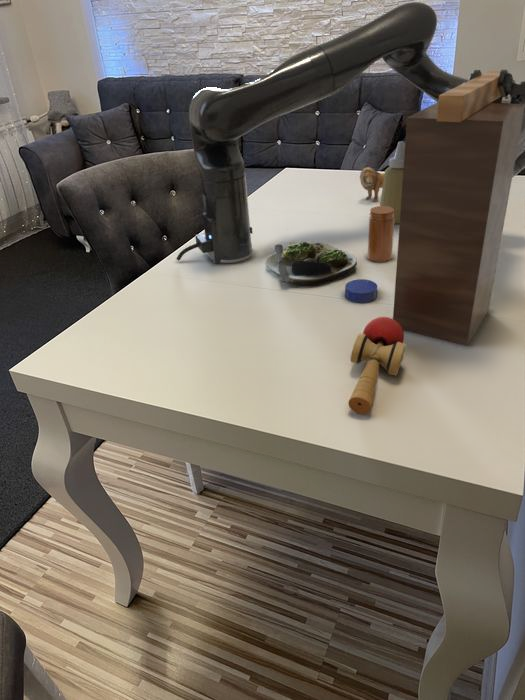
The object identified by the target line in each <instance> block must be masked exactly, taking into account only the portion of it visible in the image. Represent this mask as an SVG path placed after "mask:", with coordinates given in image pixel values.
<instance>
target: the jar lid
mask: <svg viewBox="0 0 525 700" xmlns="http://www.w3.org/2000/svg"><path fill="white" fill-rule="evenodd" d="M344 297H345V298H346V299H347V300H348V301H350V302H353V303H359V304H364V303H370V302H373V301H374V300H376V299H377V297H378V284H377V283H376V282H375V281H373V280H370V279H366V278H365V279H361V278H357V279H353V280H349V281H348V282H346V284H345V286H344Z"/></svg>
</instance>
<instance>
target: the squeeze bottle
mask: <svg viewBox="0 0 525 700" xmlns="http://www.w3.org/2000/svg"><path fill="white" fill-rule="evenodd" d="M404 154H405V142H404V141H403V140H401V141H398V142H397V146H396V150H395V154H394V156H393V157H390V158H389V164H388V165H389V166H388V167H387V168H386V169H384V173H385V175H384V181H383V188H381V194H380V195H381V196H380V203H379V206H388V207H392V208H393V209H394V211H395V212H394V224H400V211H401V197H402V183H403V168H404Z"/></svg>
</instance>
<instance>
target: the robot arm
mask: <svg viewBox="0 0 525 700" xmlns="http://www.w3.org/2000/svg"><path fill="white" fill-rule="evenodd" d="M437 26H438V16H437V13H436V11H435V10H434V8H433V7H431V6H430V5H429V4H427V3H424V2H420V1H412V2H407V3H403V4H401V5H399V6H396V7H395V8H393V9H391V10H389V11H387V12H386V13H384V14H381V15H380V16H379V17H376V18H375V19H373V20H372V21H370V22H368V23H366V24H364V25H362V26H360V27H358V28H355V29H353V30H350V31H349V32H346V33H344V34H341V35H340V36H338V37H334V38H333V39H330V40H328V41H326V42H323V43H320V44H317V45H314V46H312V47H310V48H308V49H306V50H303V51H301V52H298V53H296V54H294V55H292V56H290V57H289V58H287V59H286V60H284V61H283V62H281V63H280V64H279V65H278V66H276V67H275V68H274V69H273V70H271V71H270V72H269V73H267V74H266V75H265V76H262V77H261V78H259V79H257V80H255V81H251V82H249V83H245V84H243V85H240V86H238V87H233V88H229V89H221V88H217V87H206V88H203V89H201V90H199V91H198V92H196V93H195V95H194V96H193V98H192V99H191V101H190V104H189V108H188V119H189V129H190V135H191V141H192V142H191V143H192V148H193V154H194V160H195V162H196V163H195V164H196V165H197V170H198V173H199V180H200V186H201V195H202V202H203V203H202V204H203V211H204V212H202V215H201V216H202V222H203V230H204V232H203V233H199V234H195V235H194V236H195V237H194V238H195V243H194V244H192V245H189V246H187V247H186V248H184V249H182V250H181V251H180V252H179V253H178V255H177V256H176V258H175V259H176V261H180V260H181V259H182V257H183V256H184V255H185V254H186V253H188V252H189V251H192V250H194V249H197V248H198V249H199V250H200V252H202V254H207V256H208V257H209V258H210V260H211V261H212V262H213V263H214V264H215V265H219V264H236V263H241V262H244V261H246V260H249V259H250V258H251V257H253V254H254V250H253V245H252V235H253V227H251V221H250V212H249V211H250V210H249V201H248V187H247V178H246V177H247V176H246V165H245V161H244V158H243V156H242V154H241V152H240V151H241V150H240V149H239V143H238V142H239V141H238V139H239V138H240V137H241V138H242V136H244V135H246V134H248V133H249V132H251V131H253V130H254V129H256V128H258V127H260V126H261V125H263V124H265V123H267V122H269V121H271V120H274V119H275V118H277V117H281V116H284V115H287V114H289V113H292V112H295V111H297V110H300V109H302V108H305V107H307V106H309V105H313V104H315V103H317V102H319V101H322V100H324V99H326V98H329V97H332V96H333V95H335V94H337V93H340V91H342V90H344V89H345V88H346V87H347V86H348V85H350V84H351V83H352V82H353V81H354V80H356V79H357V78H358V77H359V76H360V75H362V74H363V72H365V71H366V70H367V69H368V68H370V67H371V66H372V65H374V63H376V62H377V61H379V60H381V59H382V60H383V61H384V63H385V64H386V65H387V66H388V67H389V68H390V69H392V70H393V71H394V72H395V73H397V74H398V75H399V76H401V77H402V78H403V79H405V80H406V81H408V82H409V83H411V85H413V86H415V87H416V88H417V89H419V90H420V91H421V92H422V93H424V94H425V95H426V96H428V97H430V98H431V100H433V101H435V103H437V102H438V101H439V95H441V94H443V93H445V92H447V91H449V90H451V89H453V88H455V87H457V86H459V85H461V84H464V83H466V82H468V81H470V80H472V79H474V78H476V77H478V76H480V75H482V74H483V73H482V71H481V69H474V71H473V73H470V75H469V78H464V77H461V76H458V75H454V74H451V73H449V72H447V71H445V70H443V69H442V68H440V67H439V66H438V65H436V63H435V62H434V61H433V60H432V59H431V58H430V56H429V54H428V53H427V52H428V49H429V47H430V46H431V43H432V41H433V39H434V36H435V34H436V30H437ZM500 71H501V72H500V75H499V80H498V89H499V92H500V95H501V97H499V98H498V99H496V100H494V101H493V102H491V103H504V104H525V81H520V83H516V82H517V81H516V80H515V79H514V77H513V74H511V73H510V72H509V73H508V72H507V71H508V69H501V70H500ZM524 169H525V109H524V115H523V120H522V126H521V131H520V137H519V142H518V148H517V154H516V159H515V165H514V170H513V176H512V179H513V178H514V177H516V176H517V175H518V174H519V173H521V172H522V171H523V170H524Z"/></svg>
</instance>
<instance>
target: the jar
mask: <svg viewBox="0 0 525 700" xmlns="http://www.w3.org/2000/svg"><path fill="white" fill-rule="evenodd" d="M394 212H395V211H394V209H393V208H392V207H388V206H380V205H378V206H377V205H376V206H373V207H371V208H370V209H369V217H368V231H367V232H368V233H367V238H368V239H367V259H368V260H369V261H372V262H376V263H384V262H388V261H390V260H392V258H393V248H394V247H393V246H394V233H395V223H394Z"/></svg>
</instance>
